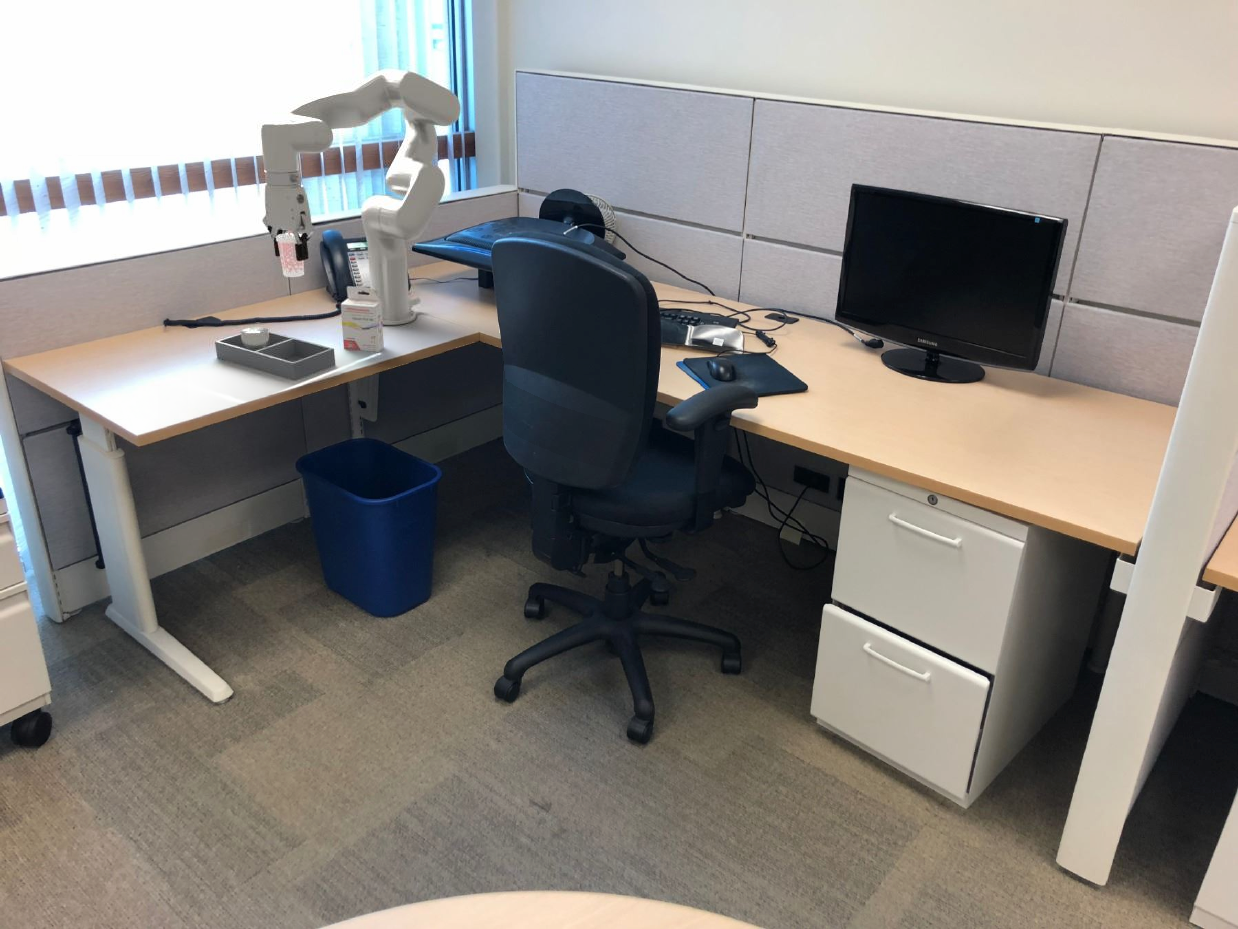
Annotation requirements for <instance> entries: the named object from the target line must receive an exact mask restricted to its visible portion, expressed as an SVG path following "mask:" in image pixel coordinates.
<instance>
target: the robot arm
mask: <svg viewBox="0 0 1238 929" xmlns="http://www.w3.org/2000/svg"><path fill="white" fill-rule="evenodd" d="M395 108H397V109H399V108H400V109H401V111H402V115H403V118H404V123H405V137H404V139H403V142H402V144H401V145H400V148H399V150H398V151H397V153H396V154H395V157H394V159H393V160H392V163H391V165H390V167H389V168H388V171H387V172H386V175H385V185H386V188H387V189H388V191H389V192H391V193H392V194H394V195H397V196H399V197H402V198H399V197H395V196H392V195H386V194H376V195H375V194H374V195H372V196H370V197H368V198H367V199H366V200H365V201H364V203H363V205H362V208H361V221H362V226H363V230H364V233H365V234H364V235H365V238H366V245H367V254H368V255H367V258H368V270H369V285H370V286H369V288H374V289H379V290H380V301H381V305H382V323H383V326H398V325H404V324H405V325H406V324H407V323H408V324H409V323H411V322H413V321H414V320H416V317H417V316H416V314H417V313H416V312H415V311H413V309H412V308H413V307H414V306H418V305H420V304H421V299H420V298H419V297H418V296H416V297H413V298H410V297H409V282H408V281H409V280H408V278H409V277H408V260H407V259H408V258H407V257H408V256H407V249H406V245H405V241H413V240H416V239H418V238H419V237H420V236H421V235H422V234H423V233H424V232H425V230H426V229H427V227H428V225H429V223H430V222H431V219H432V218H433V215H434V213H435V212H436V210H437V208H438V206H439V204H440V202H441V200H442V197H443V196H444V193H445V188H446V179H445V174H444V173H443V170H442V169H441V168H440V167H439V166H438V165H436V164H434V163H433V162H434V160H435V157H436V156H437V155H436V154H437V153H438V148H439V142H438V136H437V132H436V127H435V126H439V127H440V126H441V127H450V126H452V125H453V124H454V123H456V122H457V121H458V120H459V118H460V115H461V111H462V110H461V103H460V100H459V98H458V96H457V95H456V94H455V93H454V92H453V91H452V90H451V89H448V88H446V87H444V86H442V85H441V84H438V83H436V82H434V81H433V80H430V79H429V78H427V77H425V76H423V75H420V74H418V73H416V72H413V71H410V70H409V71H407V70H401V69H394V68H387V69H382V70H380V71H377V72H375V73H374V74H372V75H370V76H368V77H366V78H365V79H363V80H361V81H359V82H358V83H355V84H354V85H352V86H350V87H348V88H346V89H344V90H342V91H339V92H335V93H331V94H329V95H325V96H322V97H319V98H316V99H312V100H310V101H306V102H304V103H302V104H300V105H298V106H297V107H294V108H293V109H291V110H289V111H287V112H286V113H284V114H283V115H282V116H281V117H280V118H279V119H269V120H265V121H262V122H261V123H260V125H259V136H260V145H261V151H262V161H263V167H264V168H263V169H264V170H263V171H264V176H265V186H264V208H265V215H264V217H263V218H262V223H263V224H264V226H265V227H266V229H267V231H268V232H269V233H270V234H269V235H270V237H271V239H272V240H273V249H274V255H275V257H278V258H279V257H280V252H279V247H278V241H276V236H277V235H280V234H285V231H287V232H288V231H290V232H291V233H293V234H294V237H295V239H296V242H297V244H295V251H296V260H297V261H306V260H309V258H310V257H309V249H308V247H309V246H308V243H309V242H310V238H311V237H312V235H313V234H314V233H315V231H316V228H315V226H314V225H313V224H312V217H311V216H312V215H311V210H310V209H311V208H310V203H309V199H308V196H307V192H306V188H305V186H304V185H302V180H303V178H302V176H301V169H300V161H299V154H321V153H324V152H326V151H328V149H330V147H331V146H332V144H333V140H334V133H333V130H336V129H337V130H338V129H352V128H357V127H361V126H365V125H367V124H368V123H370V122H372V121H373V120H375V119H377V118H379V117H380V116H381V115H383V114H385V113H387V112H389V111H391V110H392V109H395ZM299 234H302V235H301V237H300V235H299Z"/></svg>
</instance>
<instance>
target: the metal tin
mask: <svg viewBox="0 0 1238 929" xmlns="http://www.w3.org/2000/svg"><path fill="white" fill-rule="evenodd" d="M268 331H269V329H268V328H266V327H261V326H252V327H246V328H244V329H243V328H242V330H241V331H240V333H241V339H242V347H243V348H244V349H248V350H251V351H257V350H260V349H263V348H265V347H268V346H270V340H269V332H268Z"/></svg>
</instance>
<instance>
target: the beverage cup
mask: <svg viewBox="0 0 1238 929" xmlns="http://www.w3.org/2000/svg"><path fill="white" fill-rule="evenodd" d="M299 235H300V237H301V235H302V234H301V233H299ZM276 241H278V247H279V252H280V256H279V257H280V262H281V263H280V264H281V268H282V273H283V276H284V277H287V278H299V277H302V276H305V267H304V264H305V262H304V261H305V260H303V261H297V260H296V251H295V244H297V242H296V239H295V237H294V234H293V232H291V231H287V233H285V232H284V234H280V235H277V236H276Z"/></svg>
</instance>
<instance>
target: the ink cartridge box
mask: <svg viewBox="0 0 1238 929" xmlns="http://www.w3.org/2000/svg"><path fill="white" fill-rule="evenodd" d="M346 292H347V298H346V299H345V300H344V301H342V302H341V303H340V310H341V311H340V312H341V325H342V340H343V349H344V350H355V351H368V352H376V353H378V354H379V353H380V350H381V351H382V349H383V348H385V347H384V346H385V342H384V340H385V339H384V329H383V328H384V325H383V323H382V305H381V301H380V290H379V289H374V288H371V287H361V286H358V287H357V286H351V285H350V286H349V285H348V286H347V287H346ZM363 292H365V293H368V294H361V293H363Z"/></svg>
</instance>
